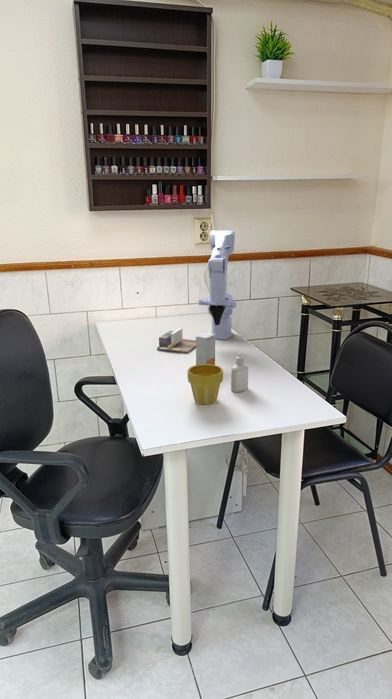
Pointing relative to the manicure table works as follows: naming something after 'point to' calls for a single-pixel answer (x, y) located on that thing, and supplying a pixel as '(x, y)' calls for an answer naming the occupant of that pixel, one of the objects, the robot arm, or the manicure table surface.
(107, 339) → the manicure table surface
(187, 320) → the manicure table surface
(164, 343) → the gauge frame
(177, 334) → the paddle
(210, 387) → the plant pot
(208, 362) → the skincare box
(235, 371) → the eye dropper bottle
